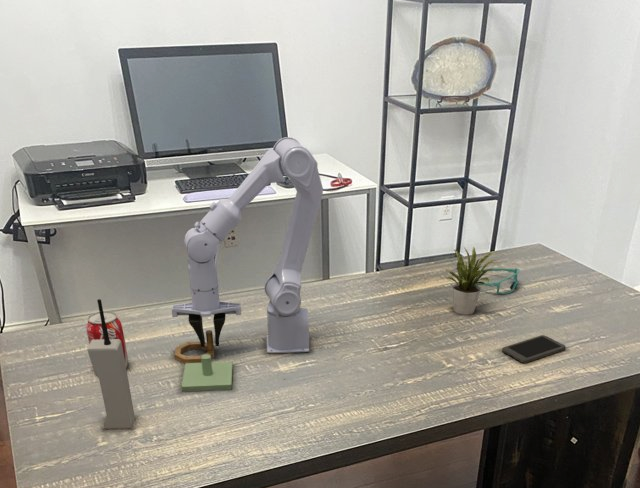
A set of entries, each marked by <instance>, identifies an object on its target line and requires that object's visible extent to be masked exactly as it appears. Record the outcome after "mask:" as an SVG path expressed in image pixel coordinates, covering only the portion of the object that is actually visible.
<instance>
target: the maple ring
mask: <svg viewBox="0 0 640 488" xmlns="http://www.w3.org/2000/svg"><path fill="white" fill-rule="evenodd" d="M205 337H206V338H205V340H206V341H205V347H201V343H200V341H187V342H185V343H182V344H180V345H178V346H175V348H174V349H175V350H174V359H175V360H176V361H178V362H180V363H182V364H184V365H185V363H202V362H201V356H202V355H205V354H208V355H210V356H211V360H212V359H214V358H215V345H214V344H215V343H214V334H213V330H211V329H208V330H205ZM198 349H199V350H200V349H202V350H204V351H207V352H205V353H203V354H201V355H198V356H195V355H194V356H187V355H185V354H182V353H184V352H187V351H189V350H198Z"/></svg>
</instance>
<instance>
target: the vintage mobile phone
mask: <svg viewBox="0 0 640 488" xmlns="http://www.w3.org/2000/svg"><path fill="white" fill-rule="evenodd" d="M97 306H98V310H99V311H98V312H100V317H101V322H102V331H103V336H104V339H100V340H91V342H90V344H89V343H88V346H87V349H86V351H87V353H88V357H89V359H90V363H91V367H92V369H93V372H94V375H95V376H96V377H97V378H98V380H99V385H100V391H101V395H102V399H103V404H104V409H105V414H106V415H105V417H104V421H103V423H102V426H103V429H105V430H119V429H120V430H122V429H123V430H124V429H132V427H133V423H134V421H135V418H136V415H135V410H134V404H133V398H132V394H131V393H132V392H131V388H130V382H129V376H128V371H127V367H126V365H125V359H124V354H123V348H122V343H121V340H120V339H109V335H108V330H107V326H106V323H105V318H104V313H103V311H104V308H103V303H102V299H100V298H98V299H97Z"/></svg>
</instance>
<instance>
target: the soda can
mask: <svg viewBox="0 0 640 488" xmlns="http://www.w3.org/2000/svg"><path fill="white" fill-rule="evenodd" d="M103 313H104V318H105V323H106V326H107V330H108V335H109V339H120V340H121V343H122V348H123V354H124V359H125V365H126V368H127V367H128V365H129V358H128V357H129V355H128V351H127V345H126V339H125V335H124V329H123V326H122V321H121V320H120V319H119V318H118V314H117V313H115V312H113V311H109V310H103ZM85 328H86V335H87V341H88V345H89V344H90V342H91V340H100V339H104V336H103V331H102V322H101V317H100V312H99V311H97V312H94V313H91V314H89V315H88V316H87V323H86V326H85Z"/></svg>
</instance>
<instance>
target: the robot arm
mask: <svg viewBox="0 0 640 488" xmlns="http://www.w3.org/2000/svg"><path fill="white" fill-rule="evenodd" d="M318 167H319V165H318V161H317V160H316V158H315V157H314V156H313V154H312V152H310V150H308V149H307V147H304V146H303V145H301V143H300V142H299V141H298V140H297V139H296V138H293V137H290V136H286V137H281V138H280V139H278V140H277V141H276V142H275V143H274V145H273V147H271V148H270V149H268V150H266V152H265V153H264V155H263V156H262V157H261V159H260V160H259V161H258V163H257V164H256V165H255V167H253V169H252V170H251V171H250V172H249V174H248V175H247V176H246V177H245V179H244V180H243V181H242V182H241V184H239V186H238V187H237V188H236V190H235V191H234V192H233V193H232V195H231V196H230V197H229V198H224V199H223V198H221V199H218V201H217V202H215V201H213V202H212V203H211V204H210V205H209V208H210V210H209V211H208V212H207V213H206V214H205V215H204V216H203V217H202V219H201V220H200V221H196V222H195V223H194V227H192V228H190V229H189V230H188V231H186V233H185V235H184V239H183V244H184V247H185V249H186V252H187V263H188V265H187V269H188V277H189V285H190V286H189V287H190V294H191V302H187V303H181V304H172V305H171V317H172V318H177V317H181V316H188V323H189V325H190V326H191V327H192V329H193V331H194V332H195V333H196V336H197V338H198V340H199V342H200V343H201V347H205V342H206V338H205V337H206V336H205V332H204V325H203V324H204V323H203V317H204V318H205V317H211V316H212V315H213V319H212V322H213V328H214V329H213V330H214V344H215V345H214V346H215V347H219V346H220V338H221V332H222V331H223V327H224V325H225V323H226V316H227V315H235V316H242V304H241V302H239V303H238V302H228V301H227V302H226V301H220V291H219V290H220V289H219V281H218V280H219V279H218V270H217V264H216V256H217V252H218V245H220V244H222V242H223V241H224V240H225V239H226V238H227V237H228V236H229V235H230V234H231V233H232V232H233V230H234V229H235V228H236V227H237V226H238V225H239V224H240V223H241V222H242V211H243V210H244V209H246V207H247V206H248V205H249V204H251V203H252V202H253V200H254V199H255V198H256V197H257V196H258V195H259V194H260V193H261V192H262V191H263V190H264V189H265V188H266V187H267V186H268V185H270V184H276V183H284V182H286V178H285V177H284V176H286V177H287V178H288V179H289V181H290V182H291V184H292V185H293V187H294V189H295V191H296V193H295V196H294V197H295V198H294V201H293V205H292V209H291V212H290V217H289V221H288V224H287V228H286V232H285V236H284V240H283V243H282V247H281V251H280V255H279V258H278V263H277V264H276V265H275V266H274V267H273V269H272V273H271V275H270V276H269V277H268V279H267V280H265V283H264V292H265V294H266V296H267V297H268V300H269V301H268V304H267V306H266V320H267V321H266V322H267V336H266V353H267V354H288V353H291V354H293V353H309V352H310V340H311V332H310V317H309V308H306V307H301V305H302V297H301V290H302V270H303V266H304V262H305V258H306V255H307V251H308V248H309V244H310V241H311V237H312V233H313V230H314V226H315V222H316V219H317V216H318V212H319V208H320V205H321V201H322V197H323V194H324V187H323V184H322V180H321V177H320V172H319V169H318Z"/></svg>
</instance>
